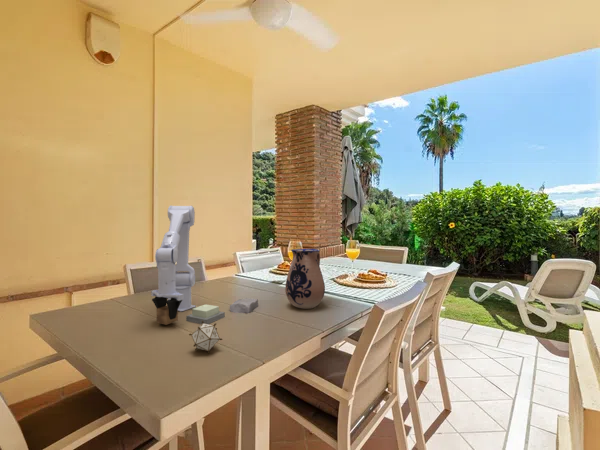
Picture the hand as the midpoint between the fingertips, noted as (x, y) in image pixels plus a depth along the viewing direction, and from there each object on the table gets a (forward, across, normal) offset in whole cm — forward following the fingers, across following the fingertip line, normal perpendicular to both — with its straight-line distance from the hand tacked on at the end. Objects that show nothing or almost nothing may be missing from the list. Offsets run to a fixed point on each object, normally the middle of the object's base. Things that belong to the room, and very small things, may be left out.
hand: (167, 317), depth 109 cm
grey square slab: (+3, +8, +11) cm, 14 cm away
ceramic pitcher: (+3, +35, +45) cm, 57 cm away
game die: (+3, +28, -10) cm, 30 cm away
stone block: (+3, +13, +28) cm, 31 cm away
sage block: (+1, +8, +11) cm, 14 cm away
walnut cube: (+1, 0, 0) cm, 1 cm away
